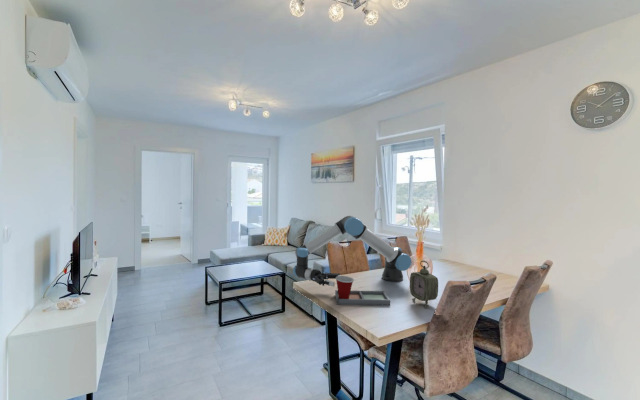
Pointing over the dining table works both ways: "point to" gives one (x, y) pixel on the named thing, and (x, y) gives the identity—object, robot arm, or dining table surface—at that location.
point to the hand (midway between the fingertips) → (340, 281)
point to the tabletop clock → (423, 285)
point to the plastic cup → (344, 286)
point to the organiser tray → (364, 298)
